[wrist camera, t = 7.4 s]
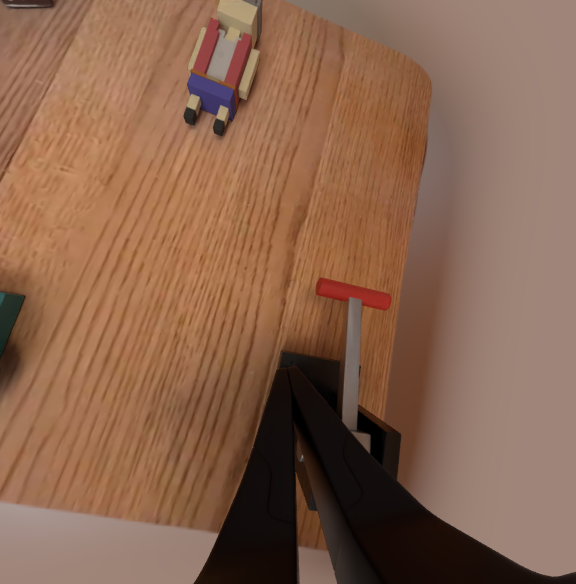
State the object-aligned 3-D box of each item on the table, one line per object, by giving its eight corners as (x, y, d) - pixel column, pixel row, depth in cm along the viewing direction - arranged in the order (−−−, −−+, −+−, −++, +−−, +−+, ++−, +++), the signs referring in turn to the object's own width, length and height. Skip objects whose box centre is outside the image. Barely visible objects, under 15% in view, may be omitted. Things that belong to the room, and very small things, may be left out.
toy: (164, 94, 21) (214, -42, 22) (179, 129, 25) (220, 12, 26) (230, 120, 22) (274, -14, 23) (234, 149, 26) (271, 35, 27)
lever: (314, 283, 20) (324, 271, 18) (378, 298, 21) (395, 289, 18) (291, 467, 15) (301, 483, 13) (376, 476, 16) (399, 493, 14)
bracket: (280, 349, 23) (305, 367, 13) (355, 363, 24) (427, 388, 14) (259, 460, 21) (270, 572, 12) (341, 469, 22) (412, 578, 13)
